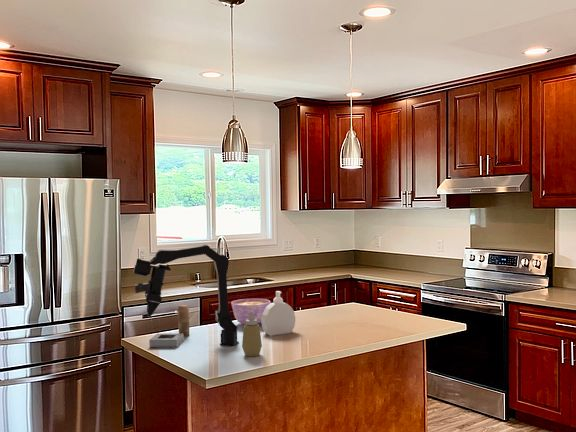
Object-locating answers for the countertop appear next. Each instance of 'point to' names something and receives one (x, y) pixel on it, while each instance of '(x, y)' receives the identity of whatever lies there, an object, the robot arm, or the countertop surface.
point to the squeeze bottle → (251, 337)
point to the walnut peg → (183, 319)
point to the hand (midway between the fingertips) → (148, 314)
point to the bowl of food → (249, 309)
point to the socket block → (166, 340)
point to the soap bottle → (278, 317)
